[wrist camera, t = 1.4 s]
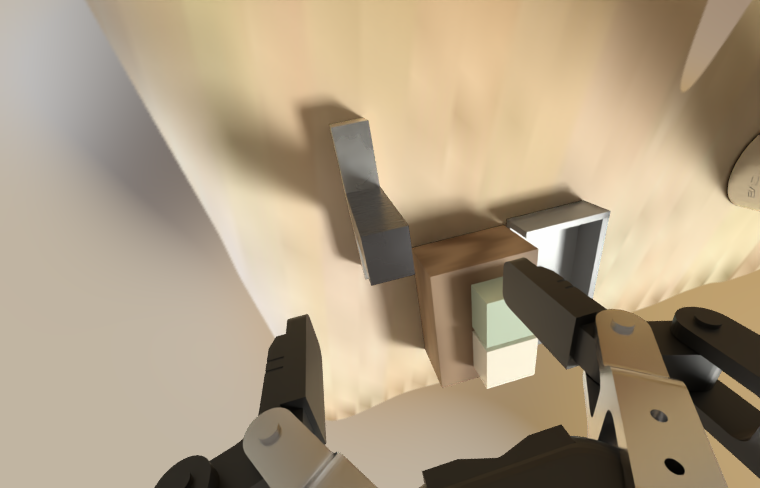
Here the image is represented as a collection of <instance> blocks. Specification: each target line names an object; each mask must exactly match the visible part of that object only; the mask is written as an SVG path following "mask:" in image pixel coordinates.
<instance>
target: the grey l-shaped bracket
mask: <svg viewBox="0 0 760 488" xmlns="http://www.w3.org/2000/svg"><path fill="white" fill-rule="evenodd" d="M329 127H330V131H331V136H332V140H333V144H334V149H335V153H336V157H337V162H338V166H339V170H340V175H341V179H342V183H343V188H344V192H345V196H346V201H347V205H348V209H349V214H350V218H351V222H352V226H353V231H354V235H355V239H356V244H357V248H358V252H359V257H360V261H361V265H362V269H363V272H364V276H365V279H369V280H370V283H371V286H372V285H376V284H380V283H383V282H387V281H391V280H395V279H399V278H403V277H407V276H411V275H414V274H415V270H414V262H413V255H412V247H411V240H410V233H409V225H408V224H407V223H406V221H405V220H404V219H403V217H402V216H401V215H400V213H399V212H398V210H397V209H396V208H395V206H394V205H393V204H392V202H391V201H390V199H389V198H388V197H387V195H386V194H385V193H384V191H383V190H382V189H381V187H380V185H379V179H378V173H377V168H376V162H375V156H374V150H373V145H372V139H371V133H370V127H369V121H368V120H367V119H365V118H359V119H354V120H349V121H344V122H339V123H334V124H329Z"/></svg>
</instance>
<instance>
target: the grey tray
mask: <svg viewBox="0 0 760 488" xmlns="http://www.w3.org/2000/svg"><path fill="white" fill-rule="evenodd" d="M609 216H610V211H609V210H607V209H604V208H601V207H599V206H596V205H594V204H591V203H589V202H586V201H584V200H583V201H579V202H575V203H571V204H567V205H563V206H559V207H555V208H551V209H547V210H543V211H538V212H534V213H530V214H526V215H522V216H518V217H514V218H510V219H507V225H506V227H507V228H509V229H510V230H512V231H513V232H515V233H516V234H518V235H519V236H520V237H522V238H523V239H525V240H526V241H528V242H529V243H531V244H532V245H534V246H535V247H537V248H538V249H539V250H538V262H537V267H538V266H542V267H544V268H547V269H550V270H552V271H554V272H556V273H557V274H559V275H560V276H561V277H563V278H564V279H565V281H566V280H567V281H568V282H570V283H571V284H572V285H573V286H574V287H577V288H578V289H579V290H581V291H582V292H583V293H585V294H586V295H588V296H589V297H590V298H592V299H593V294H594V289H595V285H596V280H597V275H598V270H599V265H600V260H601V255H602V250H603V245H604V240H605V235H606V231H607V226H608V221H609ZM538 344H541V342H540V341H539V340H538Z"/></svg>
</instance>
